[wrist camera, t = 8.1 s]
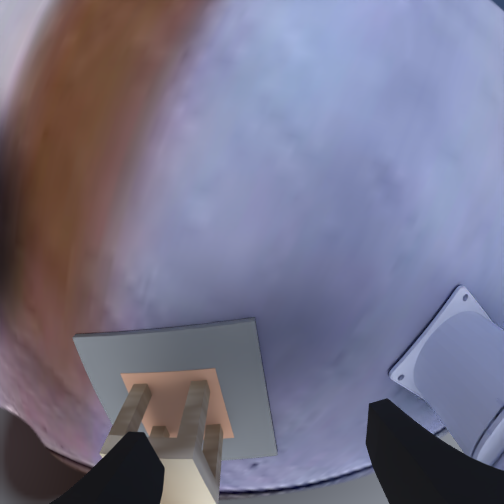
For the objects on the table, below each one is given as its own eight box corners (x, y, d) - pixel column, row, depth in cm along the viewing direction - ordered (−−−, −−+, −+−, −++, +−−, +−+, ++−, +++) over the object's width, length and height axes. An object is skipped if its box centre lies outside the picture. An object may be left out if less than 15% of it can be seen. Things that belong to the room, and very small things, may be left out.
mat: (254, 317, 17) (254, 321, 17) (277, 450, 20) (277, 455, 19) (75, 334, 17) (72, 338, 17) (133, 454, 20) (132, 458, 19)
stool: (206, 379, 17) (192, 459, 11) (223, 433, 19) (217, 507, 12) (133, 383, 18) (99, 453, 11) (157, 435, 19) (137, 502, 12)
